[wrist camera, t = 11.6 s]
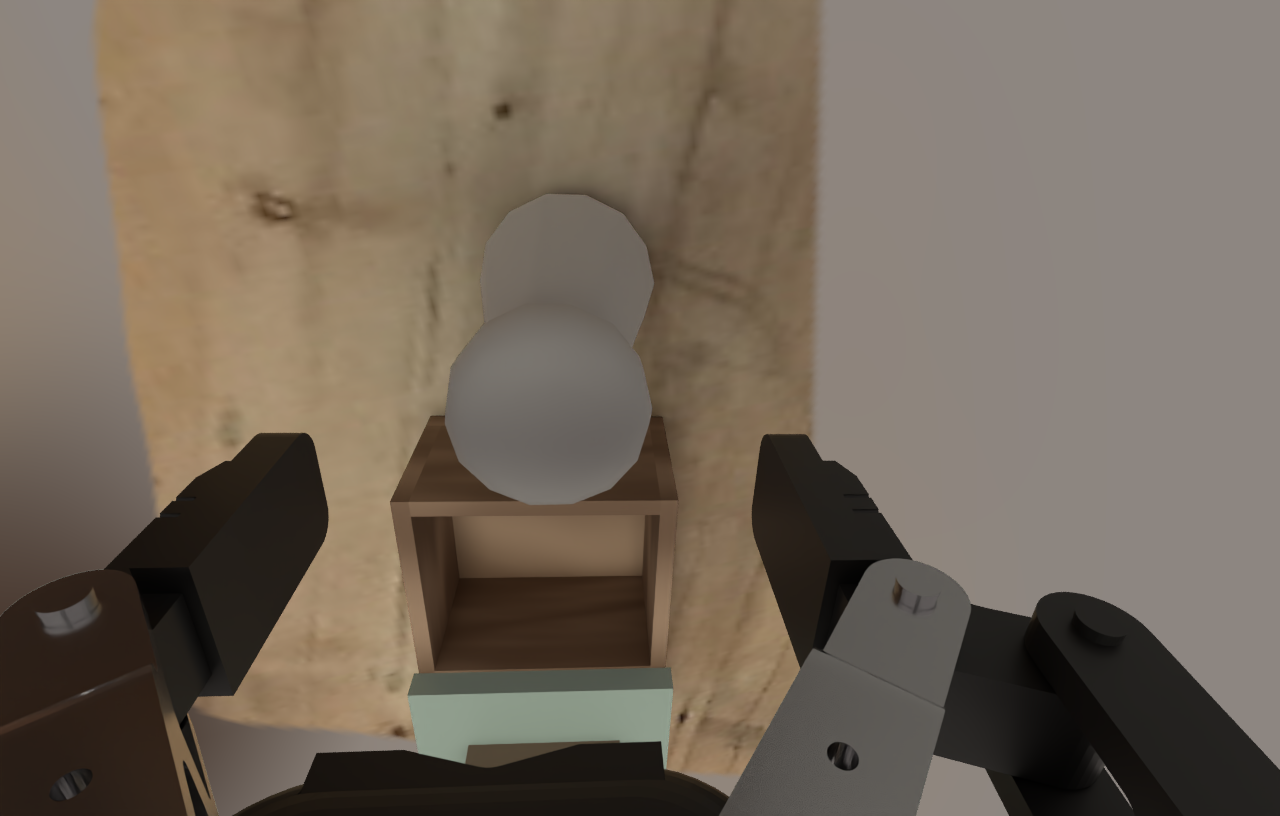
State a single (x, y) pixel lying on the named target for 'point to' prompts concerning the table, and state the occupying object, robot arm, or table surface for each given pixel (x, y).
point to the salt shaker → (555, 355)
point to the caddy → (535, 567)
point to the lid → (537, 712)
